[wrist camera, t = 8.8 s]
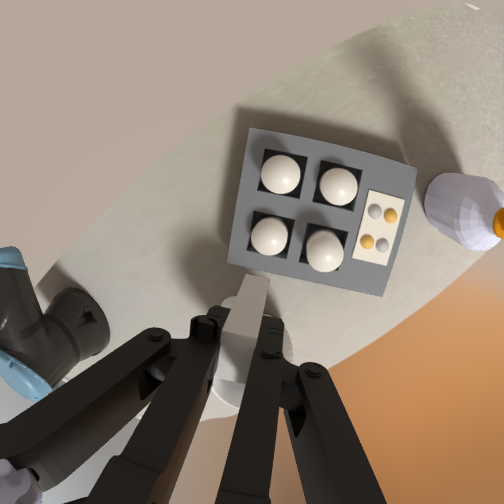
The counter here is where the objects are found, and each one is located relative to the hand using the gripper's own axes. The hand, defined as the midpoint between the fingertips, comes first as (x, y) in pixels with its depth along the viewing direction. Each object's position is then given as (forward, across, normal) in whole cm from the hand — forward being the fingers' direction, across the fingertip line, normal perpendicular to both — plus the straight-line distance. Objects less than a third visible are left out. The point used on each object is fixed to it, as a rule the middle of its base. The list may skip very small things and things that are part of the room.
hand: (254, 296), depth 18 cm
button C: (+21, +7, -1) cm, 22 cm away
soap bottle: (+24, +25, +9) cm, 35 cm away
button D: (+23, +7, +7) cm, 25 cm away
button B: (+22, 0, +7) cm, 23 cm away
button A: (+23, 0, -1) cm, 23 cm away
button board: (+24, +6, +3) cm, 25 cm away
